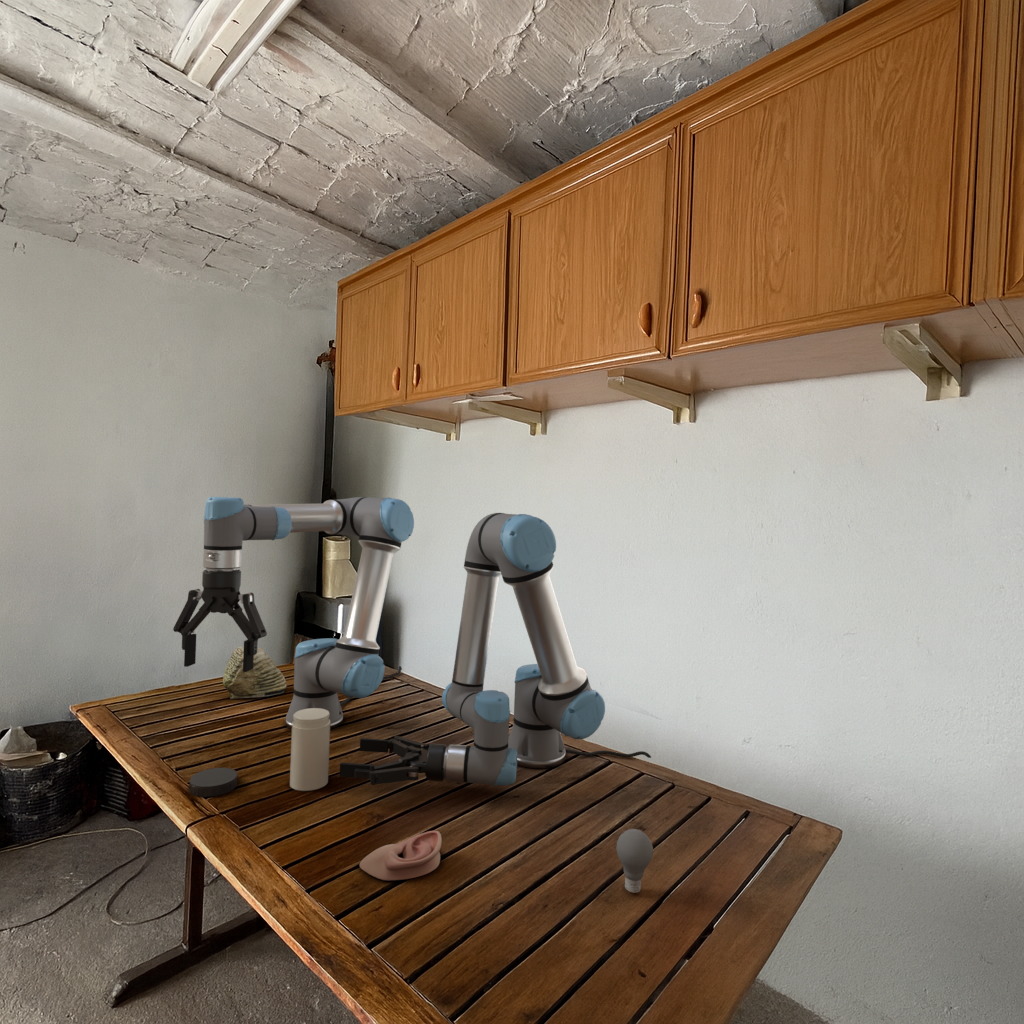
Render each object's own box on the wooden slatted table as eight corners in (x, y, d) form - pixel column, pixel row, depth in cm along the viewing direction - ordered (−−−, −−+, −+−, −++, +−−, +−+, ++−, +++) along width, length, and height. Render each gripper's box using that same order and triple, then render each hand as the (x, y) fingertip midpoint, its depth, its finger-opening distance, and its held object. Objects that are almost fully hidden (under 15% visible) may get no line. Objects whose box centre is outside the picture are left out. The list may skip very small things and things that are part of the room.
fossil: (218, 695, 195) (220, 647, 195) (278, 685, 208) (279, 640, 207) (228, 703, 189) (230, 653, 188) (289, 692, 201) (290, 645, 201)
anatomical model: (352, 851, 106) (379, 818, 118) (351, 875, 106) (379, 839, 118) (427, 864, 104) (448, 829, 115) (426, 888, 104) (447, 850, 115)
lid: (206, 775, 141) (207, 765, 141) (246, 779, 140) (246, 769, 140) (179, 794, 132) (179, 784, 132) (220, 799, 131) (221, 788, 131)
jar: (304, 771, 145) (307, 705, 145) (335, 778, 143) (338, 710, 143) (281, 786, 138) (284, 716, 137) (313, 793, 135) (316, 722, 135)
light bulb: (610, 879, 108) (613, 822, 108) (644, 879, 109) (647, 822, 109) (619, 902, 102) (622, 840, 102) (655, 901, 103) (658, 840, 103)
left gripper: (157, 567, 134) (153, 667, 134) (267, 574, 130) (263, 677, 130) (180, 564, 141) (177, 658, 141) (285, 570, 137) (281, 667, 138)
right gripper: (434, 807, 126) (330, 800, 127) (454, 756, 151) (367, 750, 152) (435, 770, 125) (331, 763, 127) (455, 725, 150) (368, 719, 152)
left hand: (218, 667), depth 136 cm, fingers open, 13 cm apart
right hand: (350, 756), depth 139 cm, fingers open, 13 cm apart
